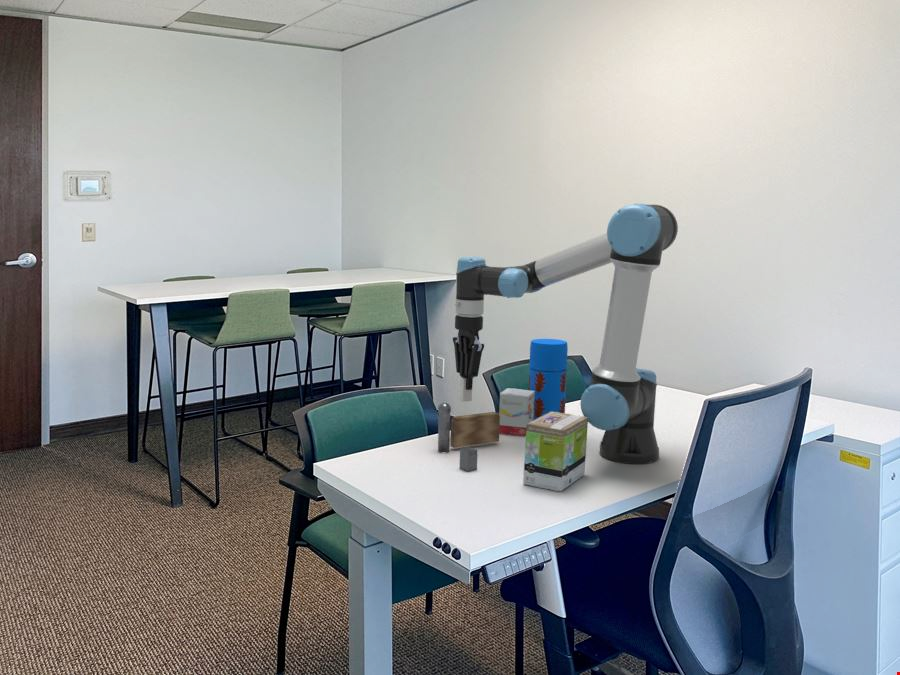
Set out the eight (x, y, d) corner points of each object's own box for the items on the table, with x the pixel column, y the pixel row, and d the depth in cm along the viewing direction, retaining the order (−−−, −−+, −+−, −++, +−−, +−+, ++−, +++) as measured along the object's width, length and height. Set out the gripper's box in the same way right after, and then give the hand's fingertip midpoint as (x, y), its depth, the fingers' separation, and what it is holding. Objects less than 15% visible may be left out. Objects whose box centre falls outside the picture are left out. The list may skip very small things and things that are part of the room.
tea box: (562, 493, 183) (565, 429, 181) (522, 485, 188) (524, 422, 186) (586, 475, 196) (588, 415, 194) (547, 467, 201) (549, 409, 199)
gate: (454, 448, 213) (454, 419, 212) (450, 445, 215) (450, 417, 213) (499, 441, 220) (500, 413, 218) (494, 439, 222) (495, 411, 220)
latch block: (476, 469, 198) (477, 449, 198) (467, 471, 196) (468, 451, 196) (468, 466, 201) (469, 446, 200) (459, 468, 199) (460, 448, 198)
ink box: (527, 437, 228) (528, 395, 226) (497, 433, 231) (498, 392, 229) (533, 429, 236) (535, 389, 234) (505, 426, 239) (506, 386, 237)
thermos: (554, 431, 233) (557, 345, 230) (521, 425, 239) (523, 341, 235) (570, 424, 242) (573, 341, 239) (537, 418, 248) (541, 337, 244)
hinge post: (452, 451, 212) (453, 403, 210) (442, 453, 210) (443, 405, 208) (444, 448, 215) (445, 400, 213) (434, 450, 213) (435, 402, 211)
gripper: (445, 312, 222) (442, 396, 226) (469, 318, 211) (466, 407, 215) (468, 311, 226) (465, 394, 230) (494, 317, 215) (490, 404, 219)
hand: (465, 400), depth 223 cm, fingers closed
